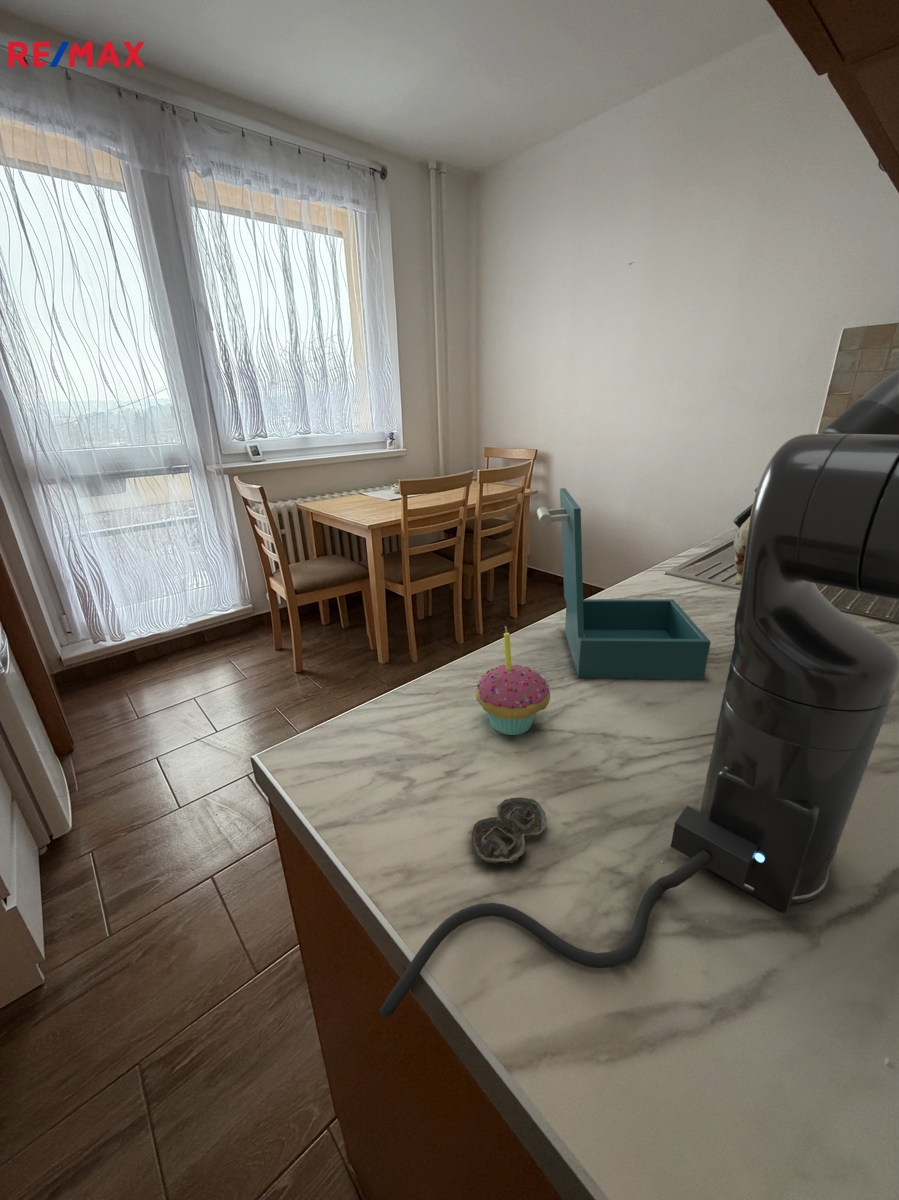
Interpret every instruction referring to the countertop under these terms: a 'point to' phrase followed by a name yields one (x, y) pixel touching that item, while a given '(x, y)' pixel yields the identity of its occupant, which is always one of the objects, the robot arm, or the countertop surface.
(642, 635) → the chest
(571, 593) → the chest lid
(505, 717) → the cupcake
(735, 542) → the chocolate bunny
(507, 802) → the corroded twin loop
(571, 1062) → the countertop surface
